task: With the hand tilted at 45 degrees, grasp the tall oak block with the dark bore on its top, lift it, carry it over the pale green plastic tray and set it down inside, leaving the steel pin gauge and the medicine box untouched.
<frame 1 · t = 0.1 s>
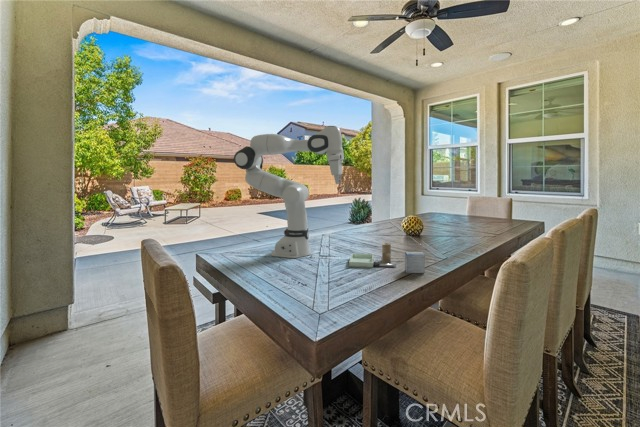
hand: (338, 183, 161), 39 cm above the table, tool pointing down, fingers open, 8 cm apart
pin gauge: (384, 266, 145), on the table
tray: (361, 262, 152), on the table
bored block: (386, 261, 153), on the table
medicine box: (414, 272, 136), on the table
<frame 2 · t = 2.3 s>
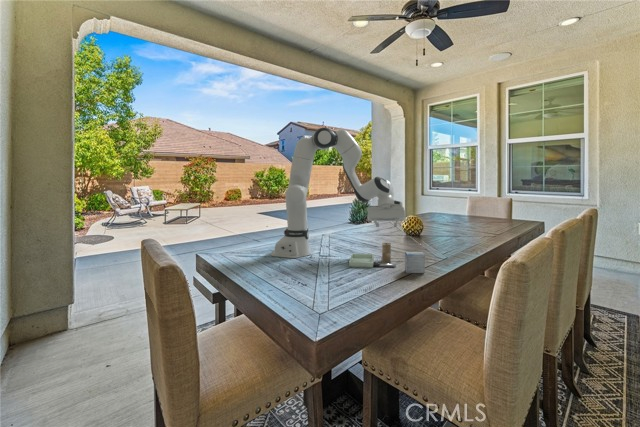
hand: (386, 226, 161), 16 cm above the table, tool tilted 45°, fingers open, 8 cm apart
nothing on the table moved.
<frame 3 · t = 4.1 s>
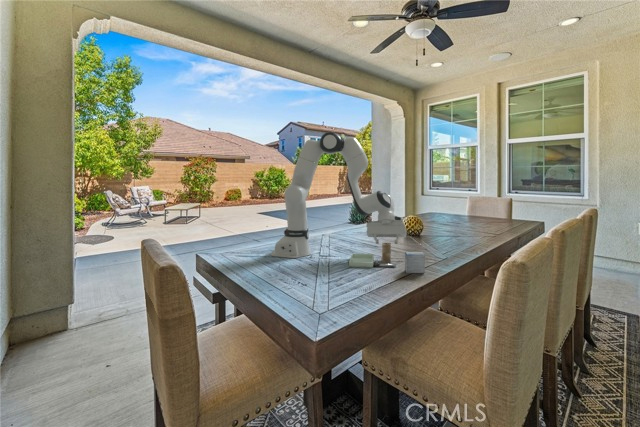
hand: (386, 243, 155), 8 cm above the table, tool tilted 45°, fingers open, 8 cm apart
nothing on the table moved.
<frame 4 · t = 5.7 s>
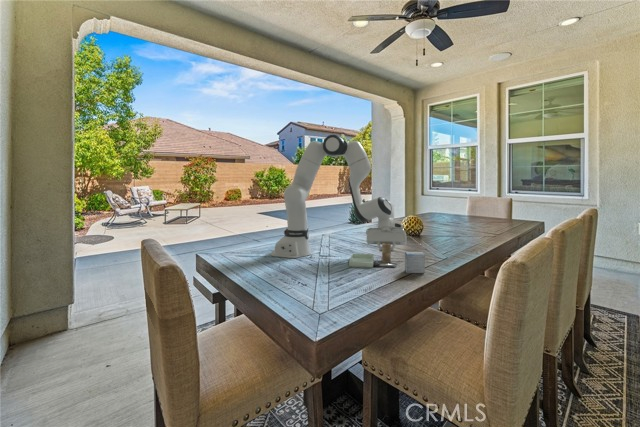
hand: (386, 251, 153), 5 cm above the table, tool tilted 45°, fingers closed on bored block, 4 cm apart
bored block: (386, 261, 153), on the table, touching gripper
everything else where it was.
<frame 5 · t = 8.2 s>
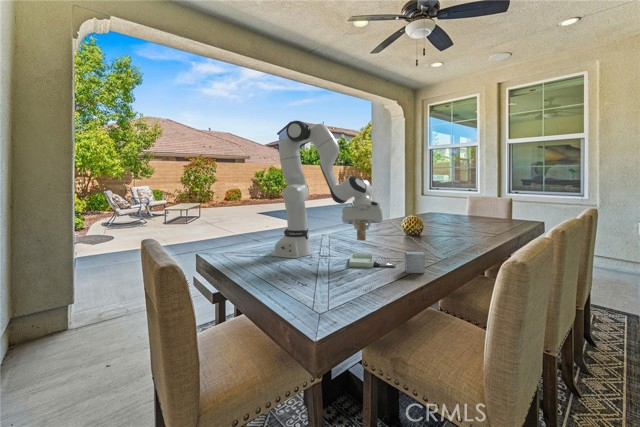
hand: (361, 228, 150), 17 cm above the table, tool tilted 45°, fingers closed on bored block, 4 cm apart
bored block: (361, 239, 150), point 12 cm above the table, touching gripper
everything else where it was.
when the fingers open (7 cm above the table, at t = 10.9 s): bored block drops 1 cm, resting on tray.
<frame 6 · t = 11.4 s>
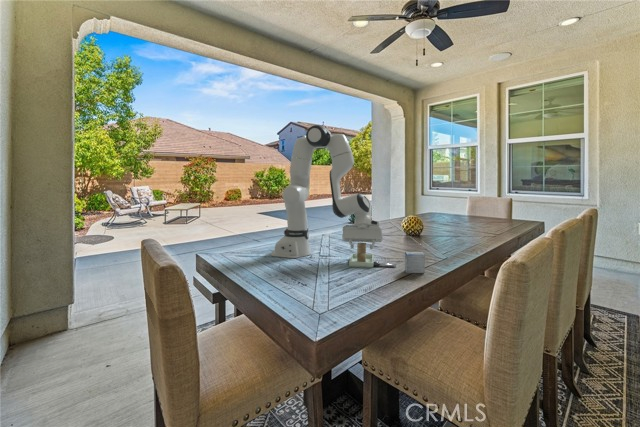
hand: (361, 248, 151), 7 cm above the table, tool tilted 45°, fingers open, 8 cm apart
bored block: (361, 261, 152), point 1 cm above the table, touching tray
everything else where it was.
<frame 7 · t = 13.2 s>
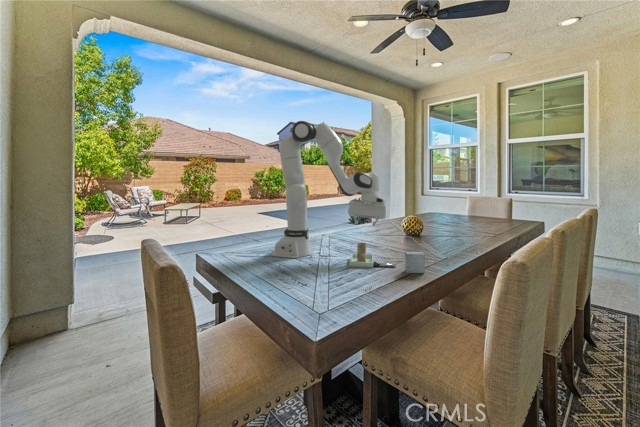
hand: (364, 224, 161), 17 cm above the table, tool tilted 30°, fingers open, 8 cm apart
nothing on the table moved.
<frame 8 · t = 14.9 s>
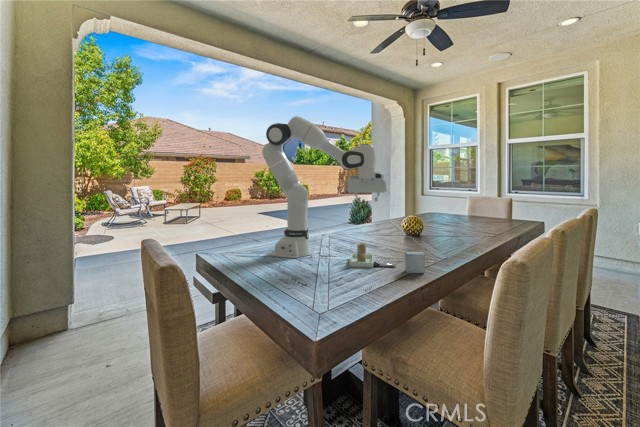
hand: (367, 201, 163), 29 cm above the table, tool pointing down, fingers open, 8 cm apart
nothing on the table moved.
at the end: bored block inside the target area on the tray (0.1 cm from its centre), point 0.6 cm above the tray's base; the gripper is holding nothing; pin gauge moved 0.0 cm from its start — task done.
